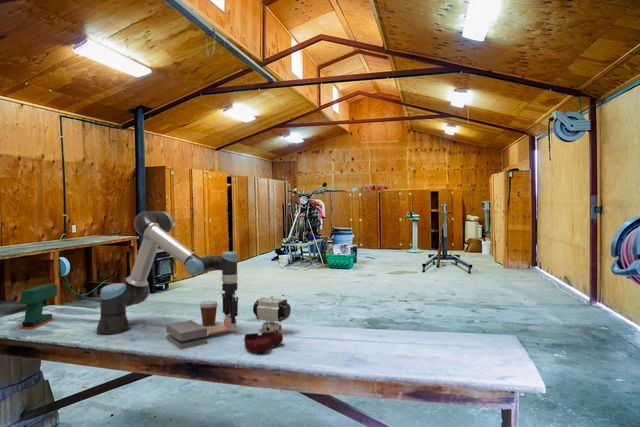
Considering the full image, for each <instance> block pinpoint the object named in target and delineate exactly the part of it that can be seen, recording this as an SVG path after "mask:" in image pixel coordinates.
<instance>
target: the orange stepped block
mask: <svg viewBox="0 0 640 427" xmlns="http://www.w3.org/2000/svg"><path fill="white" fill-rule="evenodd" d="M206 328H207V327H206ZM235 328H237V319H236V318H235ZM223 331H230V318H229V319H225V318H224V319H223V325H219V326H214V327H212V326H211V327H208V328H207V333H209V335H210V334H214V333H220V332H223Z"/></svg>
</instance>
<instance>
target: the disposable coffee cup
mask: <svg viewBox="0 0 640 427" xmlns="http://www.w3.org/2000/svg"><path fill="white" fill-rule="evenodd" d="M218 304H219V303H218V301H216V300H206V301H202V302H200V303H199V307H200V314H201V322H202V326H204V327H212V326H215V325H216V319H217V318H216V317H217V310H218V309H217V308H218Z"/></svg>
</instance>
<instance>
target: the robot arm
mask: <svg viewBox="0 0 640 427" xmlns="http://www.w3.org/2000/svg"><path fill="white" fill-rule="evenodd" d="M133 227H134V229H135V231H136V232H137V234H138V235H140V236H141V237H142V238H143V239H142V241H141V244H140V246H139V251H138V253H137V256H136V259H135V262H134V264H133V266H132V270H131V273H130V275H129V276H128V277H126V278H125V281H124V283H123V282H122V283H121V282H120V283H119V282H118V283H117V282H116V283H113V284H111V283H110V284H107V285H105V286H103V287H102V288H101V289H100V295H99V298H100V299H99V300H100V301H99V302H100V318H99V320H98V324H97V326H96V334H97V335H101V336H102V335H103V336H105V335H106V336H107V335H110V336H111V335H117V334H122V333H126V332H128V331H129V330H131V328H130V327H131V324H130V322H129V318H128V316H127V307H130V306H131V307H132V306H133V305H139V304H141V303H143V302H145V301H146V300H147V299H148V297H149V295H150V291H151V290H150V286H149V282H148V280H147V279H148V278H149V277H148V276H149V274H150V272H151V268H152V266H153V263H154V260H155V257H156V255H157V252H158V249H159V248H161V249H162V251H164V252H166V253H167V254H168V255H170V256H171V257H172V258H173V259H175V260H177V261H178V262H180V264H182V265H183V266H184V267H185V268H184V269H185V270H186V273H187V274H189V275H200V274H203V273H207V272H211V271H221V273H222V274H221V281H222V284H221V289H222V291H223V292H224V293H221V297H222V313H223V314H224V319H229V318H230V329H229V331H234V330H236V327H235V319H236V318H237V317H238V316H239V315H238V314H239V312H238V311H239V310H238V309H239V308H238V307H239V304H238V303H239V296H236V291H237V290H238V253H237V252H236V251H223V252H222V253H221V255H210V254H208V255H205V254H204V255H201V256H199V255H198V254H196V253H195V252H194V251H192V250H191V249H189V248H188V247H187V246H186V245H184V244H183V243H181V242H180V241H179V240H177V239H176V238H175V237H173V236H172V235H171V234H170V233H169V232H171V231H172V230H173V228H174V220H173V216H171V214H170V213H168V212H166V211H161V210H159V211H150V210H149V211H148V210H147V211H142V212H140V213H138V214H137V215H136V216H135V217H134V219H133Z"/></svg>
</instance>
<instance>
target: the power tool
mask: <svg viewBox="0 0 640 427" xmlns="http://www.w3.org/2000/svg"><path fill="white" fill-rule="evenodd" d="M59 288H60V286H58V284H57V283H50V284H49V283H47V284H46V283H45V284H41V285H37V286H34V287H31V288H28V289H23V290H21V291H20V292H21V294H20V295H21V296H20V297H21V298H20V300H21V302H20V304H22V305H23V304H26V307H25V314H24V321H22V327H20V330H21V329H24V330H36V329H37V327H38V328H39V327H42V326H43V325H46V324H48V323H50V322H53V321H54V317H53V313H43V309H44V307H45V306H47V300H49V299H50V298H52V297H56V296H58V289H59Z"/></svg>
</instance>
